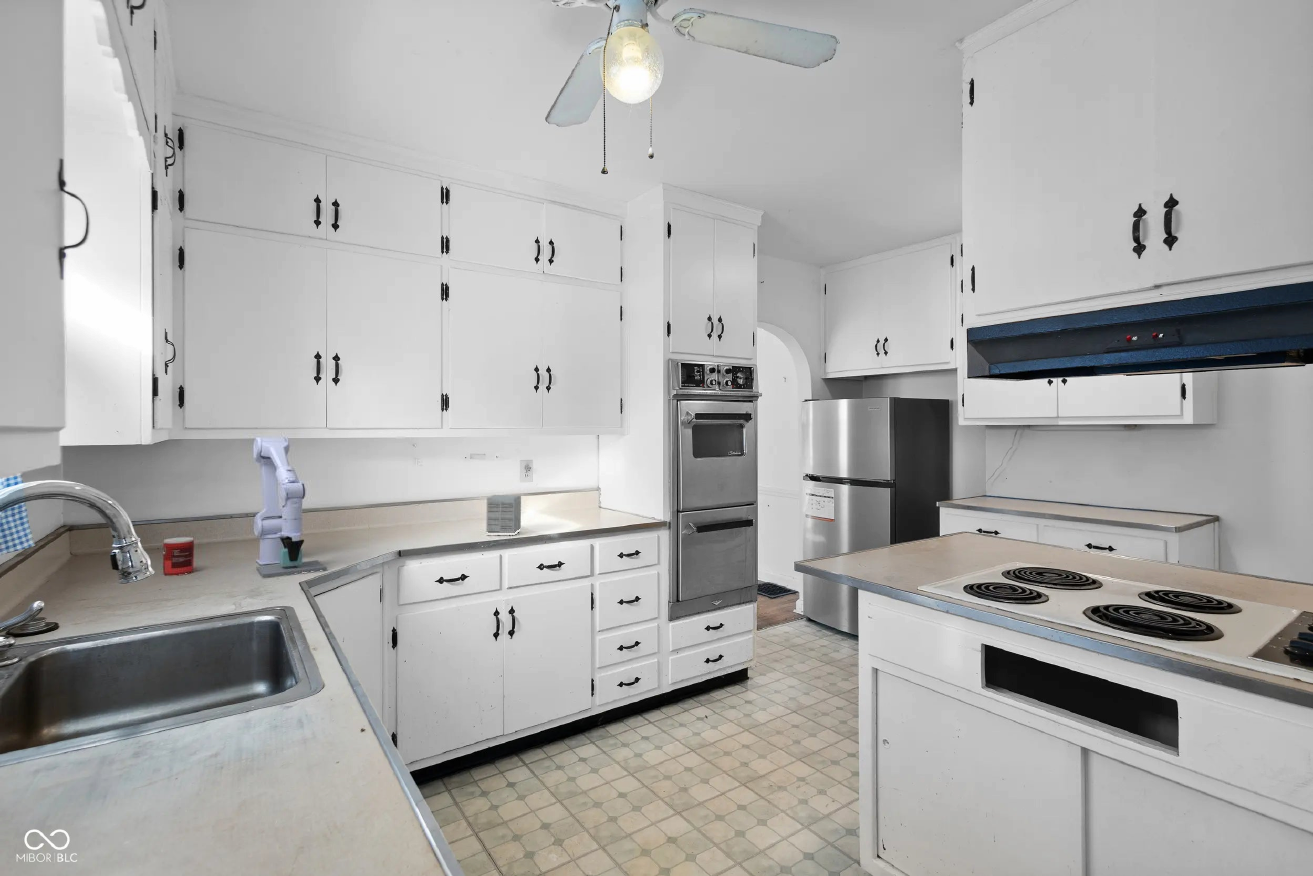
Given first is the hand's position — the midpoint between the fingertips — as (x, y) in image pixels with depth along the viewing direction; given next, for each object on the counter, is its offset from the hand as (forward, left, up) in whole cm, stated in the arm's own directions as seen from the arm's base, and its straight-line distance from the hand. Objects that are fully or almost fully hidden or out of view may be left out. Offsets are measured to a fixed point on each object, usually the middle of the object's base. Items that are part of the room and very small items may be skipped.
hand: (291, 559), depth 204 cm
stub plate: (0, 0, -4) cm, 4 cm away
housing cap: (0, 0, -2) cm, 2 cm away
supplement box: (-30, +91, -4) cm, 96 cm away
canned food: (-17, -29, -4) cm, 34 cm away
